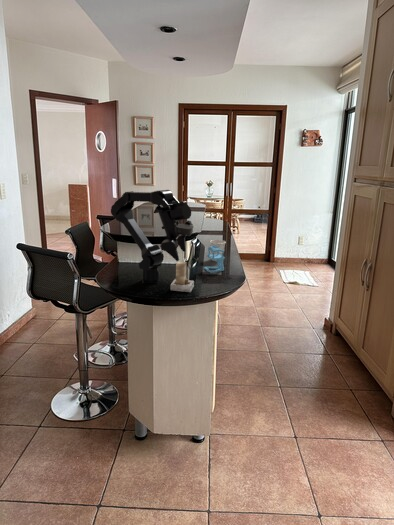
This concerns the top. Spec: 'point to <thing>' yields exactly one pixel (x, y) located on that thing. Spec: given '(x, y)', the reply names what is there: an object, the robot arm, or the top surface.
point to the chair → (216, 257)
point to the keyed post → (181, 273)
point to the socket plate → (182, 286)
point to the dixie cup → (217, 245)
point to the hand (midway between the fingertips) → (181, 255)
